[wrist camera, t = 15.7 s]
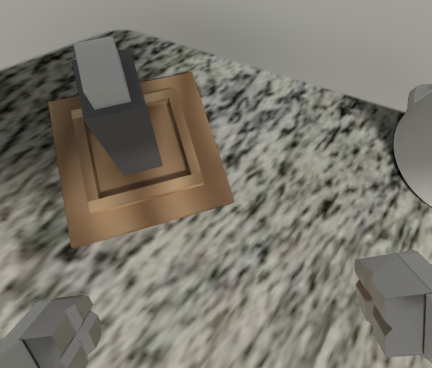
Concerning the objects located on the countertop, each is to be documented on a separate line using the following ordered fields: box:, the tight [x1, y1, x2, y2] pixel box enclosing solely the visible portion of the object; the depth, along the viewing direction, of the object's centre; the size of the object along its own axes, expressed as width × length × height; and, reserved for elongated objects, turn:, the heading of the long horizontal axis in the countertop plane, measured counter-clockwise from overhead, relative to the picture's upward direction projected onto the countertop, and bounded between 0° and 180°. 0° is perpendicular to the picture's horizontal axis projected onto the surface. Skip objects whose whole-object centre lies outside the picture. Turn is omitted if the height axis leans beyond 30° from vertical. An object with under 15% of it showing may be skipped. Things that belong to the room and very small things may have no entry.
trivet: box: [48, 72, 234, 248], centre depth 30 cm, size 16×16×2 cm
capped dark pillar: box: [72, 36, 163, 176], centre depth 24 cm, size 4×5×13 cm
